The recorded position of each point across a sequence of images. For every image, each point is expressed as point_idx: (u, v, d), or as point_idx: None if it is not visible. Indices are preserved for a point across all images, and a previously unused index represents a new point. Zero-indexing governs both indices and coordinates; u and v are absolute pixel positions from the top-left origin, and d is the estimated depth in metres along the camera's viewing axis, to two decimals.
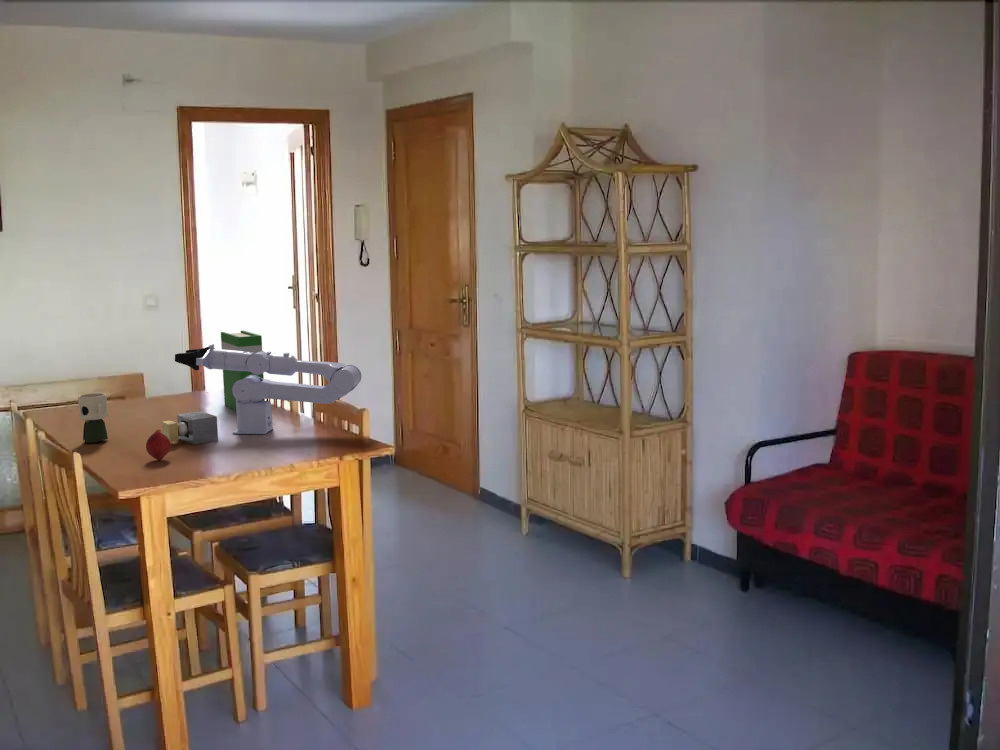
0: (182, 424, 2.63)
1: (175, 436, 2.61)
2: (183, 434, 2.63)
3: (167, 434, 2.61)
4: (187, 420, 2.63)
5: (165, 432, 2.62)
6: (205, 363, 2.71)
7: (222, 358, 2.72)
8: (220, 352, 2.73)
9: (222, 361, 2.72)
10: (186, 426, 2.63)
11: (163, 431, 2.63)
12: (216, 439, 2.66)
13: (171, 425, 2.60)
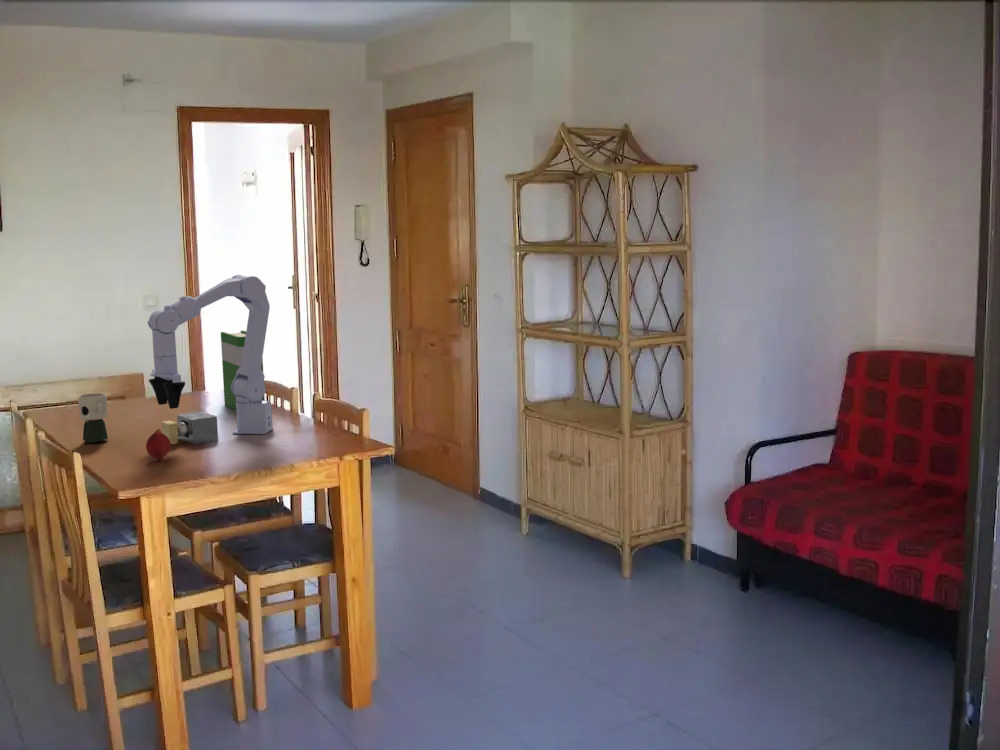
0: (182, 424, 2.63)
1: (175, 436, 2.61)
2: (183, 434, 2.63)
3: (167, 434, 2.61)
4: (187, 420, 2.63)
5: (165, 432, 2.62)
6: (175, 374, 2.57)
7: (166, 359, 2.57)
8: (159, 363, 2.57)
9: (169, 359, 2.57)
10: (186, 426, 2.63)
11: (163, 431, 2.63)
12: (216, 439, 2.66)
13: (171, 425, 2.60)
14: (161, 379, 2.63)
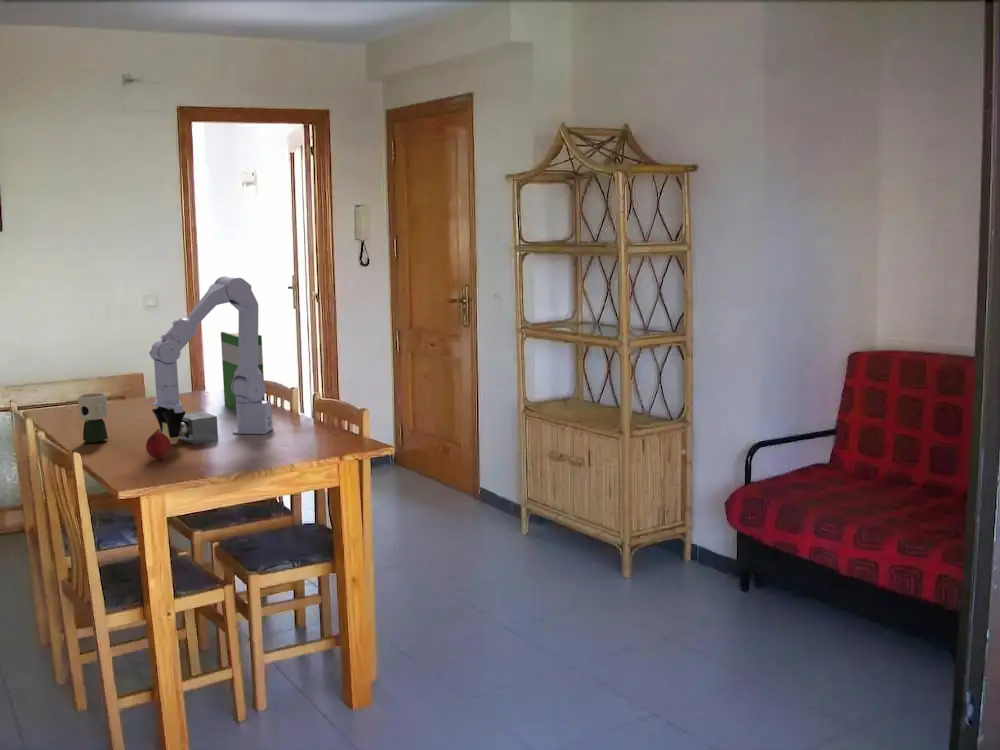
0: (182, 424, 2.63)
1: None
2: (183, 434, 2.63)
3: (167, 434, 2.61)
4: (187, 420, 2.63)
5: (165, 432, 2.62)
6: (177, 404, 2.58)
7: (168, 389, 2.58)
8: (161, 393, 2.58)
9: (171, 389, 2.58)
10: (186, 426, 2.63)
11: (163, 431, 2.63)
12: (216, 439, 2.66)
13: None
14: (165, 409, 2.63)
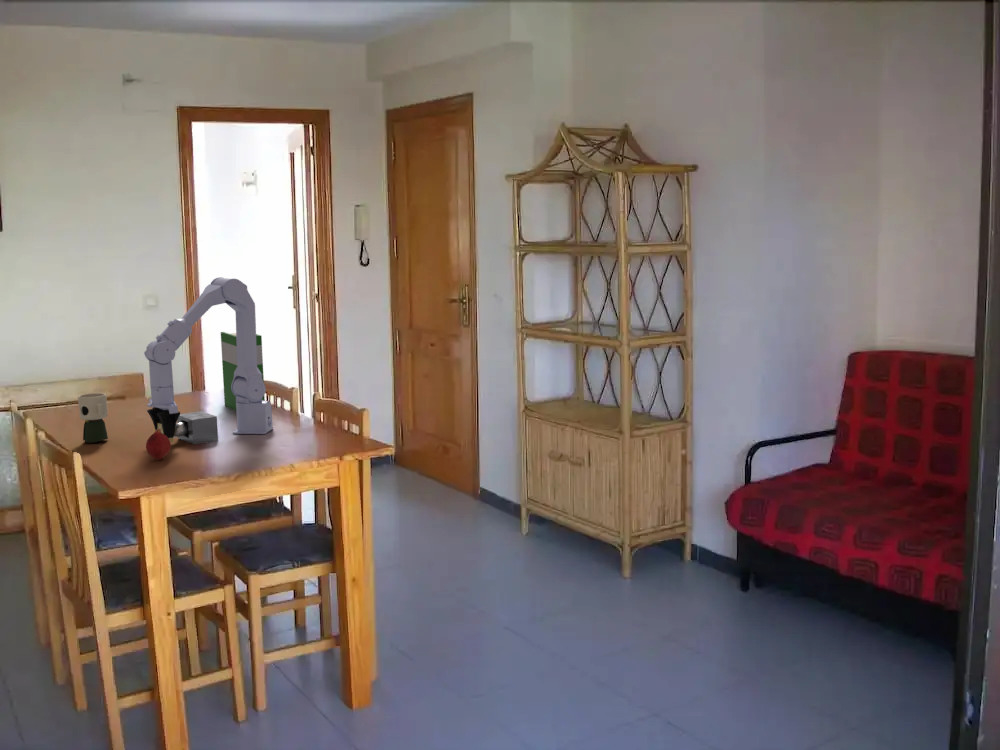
0: (177, 425, 2.62)
1: None
2: (178, 435, 2.62)
3: None
4: (187, 420, 2.63)
5: None
6: (172, 405, 2.57)
7: (163, 389, 2.57)
8: (156, 394, 2.57)
9: (166, 389, 2.57)
10: (181, 427, 2.63)
11: None
12: (216, 439, 2.66)
13: None
14: (159, 409, 2.63)
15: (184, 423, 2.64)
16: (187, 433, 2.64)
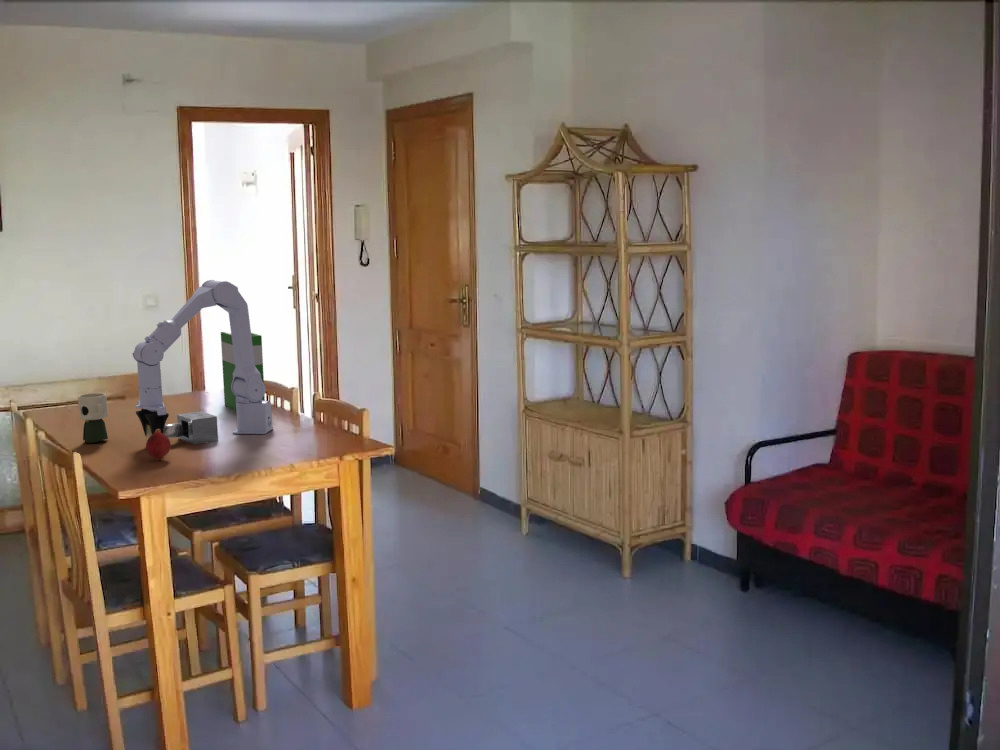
0: (166, 426, 2.60)
1: None
2: (167, 436, 2.61)
3: None
4: (187, 420, 2.63)
5: (149, 435, 2.59)
6: (161, 407, 2.55)
7: (151, 391, 2.55)
8: (144, 395, 2.55)
9: (154, 391, 2.56)
10: (170, 428, 2.61)
11: (147, 433, 2.60)
12: (216, 439, 2.66)
13: None
14: (148, 411, 2.61)
15: (173, 425, 2.62)
16: (176, 435, 2.62)
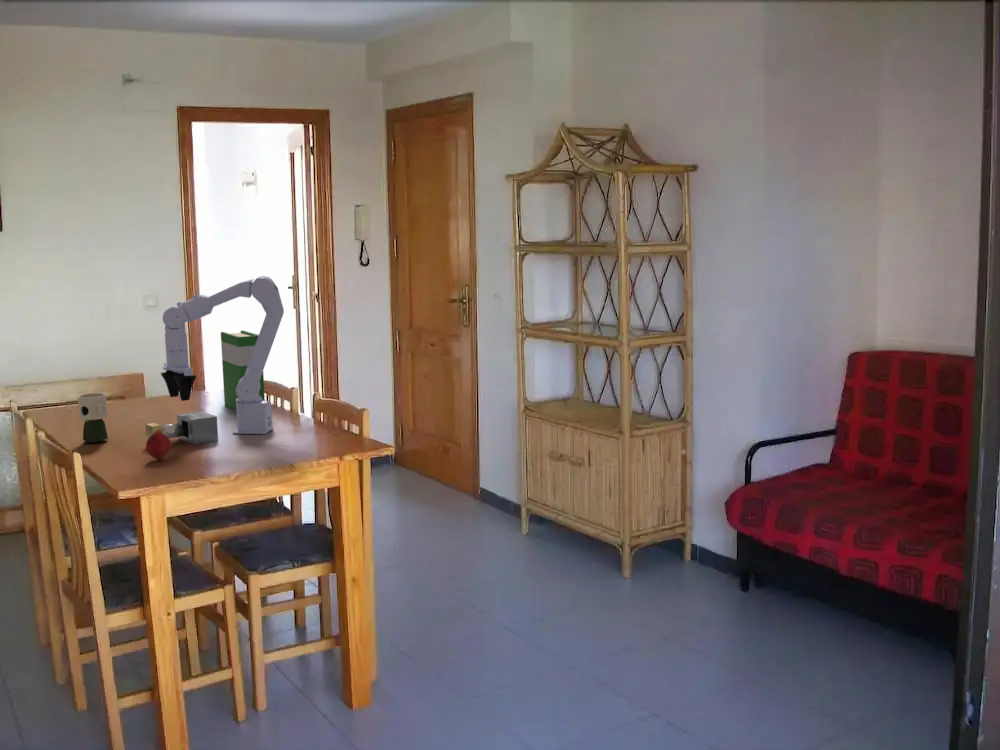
0: (166, 426, 2.60)
1: None
2: (167, 436, 2.61)
3: None
4: (187, 420, 2.63)
5: (149, 435, 2.59)
6: (187, 368, 2.68)
7: (178, 353, 2.68)
8: (171, 357, 2.68)
9: (181, 353, 2.68)
10: (170, 428, 2.61)
11: (147, 433, 2.60)
12: (216, 439, 2.66)
13: (155, 427, 2.57)
14: (173, 372, 2.74)
15: (173, 425, 2.62)
16: (176, 435, 2.62)
